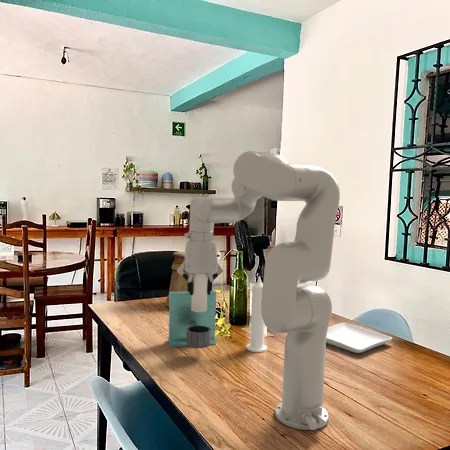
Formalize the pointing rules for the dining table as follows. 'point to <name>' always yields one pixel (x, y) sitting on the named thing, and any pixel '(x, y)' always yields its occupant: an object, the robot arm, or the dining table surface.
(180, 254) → the tankard
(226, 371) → the dining table surface
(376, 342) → the salad plate
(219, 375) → the dining table surface
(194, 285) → the white cylinder
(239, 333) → the dining table surface
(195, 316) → the cup bracket
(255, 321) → the candle
